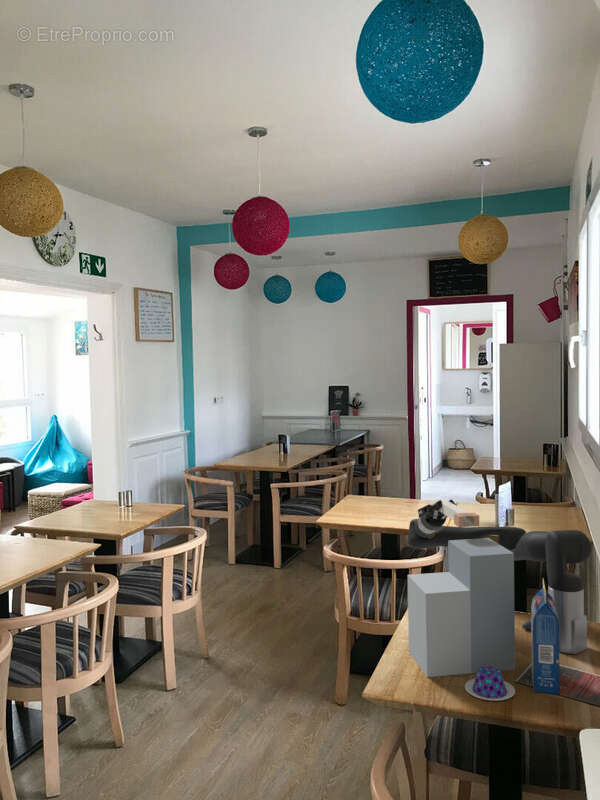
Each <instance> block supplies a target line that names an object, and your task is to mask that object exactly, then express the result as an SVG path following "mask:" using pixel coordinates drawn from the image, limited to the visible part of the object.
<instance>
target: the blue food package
mask: <svg viewBox="0 0 600 800" xmlns="http://www.w3.org/2000/svg"><path fill="white" fill-rule="evenodd" d="M530 610H531V611H530V613H531V614H530V618H531V619H530V620H531V630H530V631H531V632H530V634H531V635H530V636H531V638H530V639H531V677H532V678H531V682H532V688H533V691H534V692H538V693H546V694H556V695H559V694H560V652H559V623H558V615H557V611H556V607H555V603H554V600H553V598H552V597H551V595H550V594H549V593H548V591H547V590H546V585H545V580H544V578H542V588H541V589H540V590H538V592H537V593H535V595H534V596H533V597H532V601H531V606H530Z"/></svg>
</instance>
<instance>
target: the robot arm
mask: <svg viewBox="0 0 600 800" xmlns="http://www.w3.org/2000/svg"><path fill="white" fill-rule="evenodd" d="M438 500H439V501H438V502H436V501H435V503H433V504H430V503H429V504H427V505H425V506H423V507H420V508H418V509H417V514H418V518H414V519H411V521H410V522H409V524H408V525H409V526H408V528H409V529H408V538H407V543H408V546H410V547H411V548H412V549H415V550H424V549H428V548H429V549H430V548H434V547H447V548H448V541H449V540H465V539H481V538H488V537H491V536H497V543H498V544H499V545H501V546H503V547H504V548H506V549H508V550H509V551H511V552H513V553H514V561H523V560H525V561H533V562H546V575H547V581H548V584H547V586H548V587H547V588H548V591H547V592H548V593H549V594H550V595H551V597H552V598H553V600H554V603H555V607H556V611H557V615H558V623H559V653H563V654H573V655H578V654H580V653H582V652H583V651H585V650H587V649H588V616H587V615H586V614H584V612H585V611H584V599H585V598H584V579H583V578H582V576H580V575H578V574H575V573H573V572H570V571H566V568H565V567H566V566H565V565H572V564H581V563H584V562H586V561H587V560H588V559H589V558H590V556H591V553H592V544H591V540H590V538H589V537H588V536H587V534H585V533H584V532H583V531H581V530H578V529H565V530H564V529H563V530H562V529H561V530H560V529H559V530H550V531H547V530H546V531H543V530H531V531H528V532H527V531H526V530H525V529H523V528H521V527H517V526H516V527H515V526H472V527H458V526H450V525H444V524H445V523H446V522H447V518H449V517H448V516H446V515H445V514H443V513H441V512H440V511H438V510H440V509H441V508H442V501H441V500H440V499H438ZM448 501H449V502H451V503H453V504H454V505H456V506H457V504H456V503H455V502H454V500H453V499H449V500H448ZM432 535H434V536H432ZM431 536H432V537H431Z"/></svg>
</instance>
